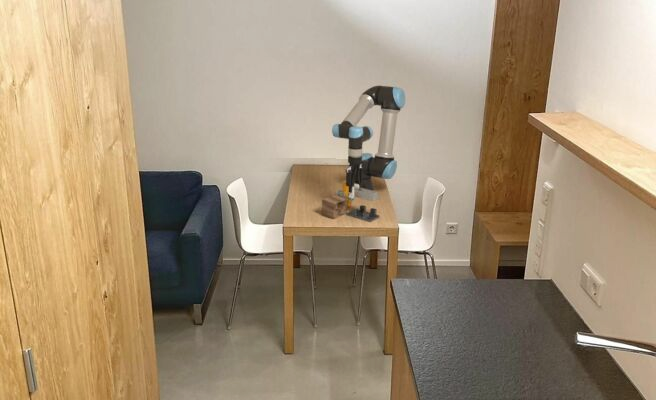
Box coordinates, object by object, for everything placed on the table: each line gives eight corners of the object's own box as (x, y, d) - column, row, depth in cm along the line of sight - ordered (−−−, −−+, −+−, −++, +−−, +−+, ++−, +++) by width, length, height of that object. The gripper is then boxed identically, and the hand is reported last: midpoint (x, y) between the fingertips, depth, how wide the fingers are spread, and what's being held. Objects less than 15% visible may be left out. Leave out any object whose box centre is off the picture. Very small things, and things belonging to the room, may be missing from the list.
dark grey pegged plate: (355, 210, 346) (356, 203, 344) (379, 217, 337) (379, 210, 335) (346, 215, 339) (346, 207, 338) (369, 222, 330) (370, 214, 328)
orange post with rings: (353, 210, 346) (353, 185, 341) (334, 208, 348) (335, 183, 343) (356, 203, 358) (357, 178, 353) (338, 201, 360) (339, 177, 355)
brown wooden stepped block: (335, 209, 347) (335, 194, 343) (346, 213, 342) (347, 197, 339) (322, 215, 338) (322, 199, 335) (333, 219, 333) (333, 203, 330)
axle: (354, 193, 340) (355, 186, 338) (377, 199, 331) (377, 191, 330) (350, 195, 337) (350, 188, 335) (372, 201, 328) (373, 193, 327)
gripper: (358, 151, 339) (357, 191, 347) (339, 157, 326) (338, 199, 334) (370, 153, 335) (368, 194, 342) (351, 160, 322) (349, 202, 330)
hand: (353, 196), depth 338 cm, fingers closed on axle, 4 cm apart
